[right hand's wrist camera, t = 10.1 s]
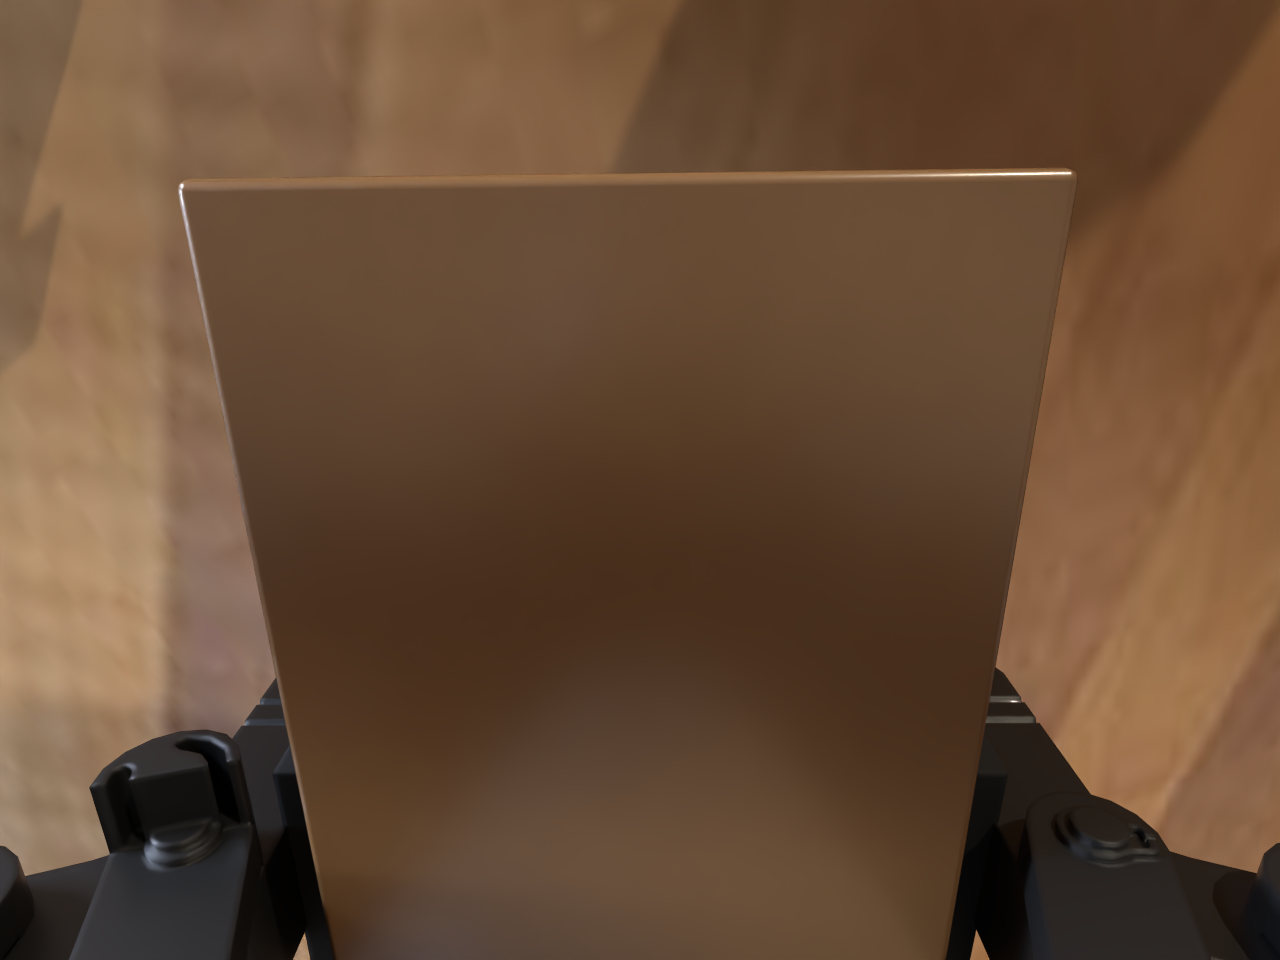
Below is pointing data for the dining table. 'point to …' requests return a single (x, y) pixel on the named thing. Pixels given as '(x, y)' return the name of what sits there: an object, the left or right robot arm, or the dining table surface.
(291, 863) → the right robot arm
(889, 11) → the dining table surface
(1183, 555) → the dining table surface
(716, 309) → the beam
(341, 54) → the dining table surface
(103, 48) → the dining table surface
